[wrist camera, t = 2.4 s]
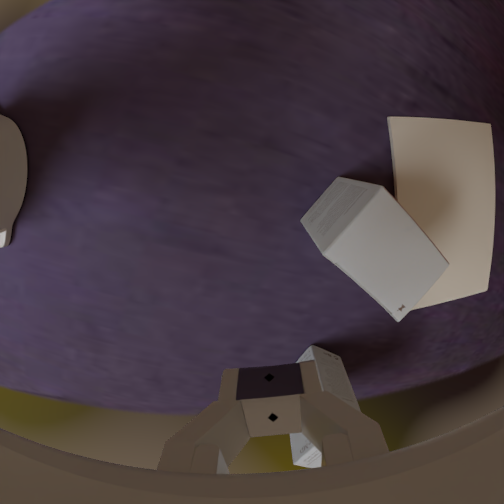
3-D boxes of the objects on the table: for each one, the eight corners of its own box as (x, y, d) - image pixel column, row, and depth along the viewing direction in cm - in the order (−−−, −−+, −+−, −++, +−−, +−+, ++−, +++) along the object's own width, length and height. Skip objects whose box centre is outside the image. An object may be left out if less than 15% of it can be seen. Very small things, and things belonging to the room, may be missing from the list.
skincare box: (310, 342, 31) (332, 426, 19) (342, 355, 31) (373, 435, 20) (280, 380, 33) (288, 465, 21) (312, 392, 33) (329, 472, 21)
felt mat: (393, 310, 30) (395, 313, 29) (387, 117, 24) (389, 116, 23) (484, 288, 29) (487, 290, 28) (487, 124, 23) (490, 124, 23)
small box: (393, 230, 27) (453, 266, 17) (356, 272, 29) (400, 325, 18) (337, 173, 26) (384, 182, 16) (297, 219, 27) (321, 254, 17)
